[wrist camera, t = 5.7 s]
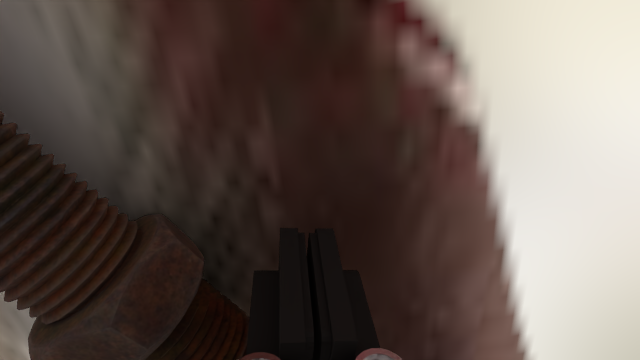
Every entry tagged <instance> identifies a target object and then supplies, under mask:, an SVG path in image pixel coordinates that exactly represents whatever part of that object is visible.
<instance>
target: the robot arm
mask: <svg viewBox="0 0 640 360" xmlns="http://www.w3.org/2000/svg"><path fill="white" fill-rule="evenodd" d="M239 360H402V359H401V358H400V357H399V356H398V355H396V354H395V353H393V352H391V351H389V350H385V349H381V348H380V346H379V343H378V339H377V335H376V332H375V328H374V325H373V321H372V317H371V314H370V310H369V307H368V303H367V299H366V296H365V292H364V289H363V285H362V282H361V278H360V275H359V272H358V271H357V270H342V266H341V261H340V256H339V252H338V247H337V243H336V238H335V234H334V230H333V229H316V230H315V233H309V238H308V248H307V256H306V245H305V235H304V233H298V229H297V228H280V247H279V270H278V271H254V277H253V288H252V298H251V309H250V319H249V329H248V340H247V350H246V355H245V356H244V357H242V358H241V359H239Z"/></svg>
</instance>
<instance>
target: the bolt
mask: <svg viewBox="0 0 640 360" xmlns="http://www.w3.org/2000/svg"><path fill="white" fill-rule="evenodd" d="M3 117H4V113H2V112H1V111H0V292H3V291H5V296H4V301H6V302H11V301H14V300H17V299H18V302H17V309H18V310H22V309H26V308H29V307H30V312H29V314H30V317H37V318H36V320H35V322H34V324H33V327H32V329H31V332H30V334H29V337H28V344H29V354H30V358H31V360H238V359H241V358H242V357H244V356H245V355H246V350H247V340H248V329H249V319H250V317H248V316H247V315H246V314H245V312H244V311H242V310H241V309H240V308H239V307H238V306H237V305H235V304H234V303H232V302H231V301H230V300H229V299H227V297H226V296H224V295H222V294H221V293H220V291H218V290H216V289H215V288H214V287H213V286H212V285H211V284H210V283H208V282H207V280H205V279H203V278H202V277H203V270H204V257H203V255H202V253H201V252H200V250H199V249H198V248H197V246H196V245H195V244H194V243H193V241H192V240H191V239H190V238H189V237H188V236H187V235H186V234H185V233H183V232H182V231H181V230H180V229H179V228H178V227H177V226H175V225H174V224H173V223H172V222H171V221H170V220H169V219H168V218H166V217H165V216H164V215H163V214H156V215H146V216H143V217H141V218H139V219H137V220H135V221H128V216H127V214H125V213H120V214H118V207H117V206H108V201H109V200H108V199H107V198H106V197H105V198H99V199H97V198H98V192H97V190H96V189H94V190H88V191H86V189H87V182H86V181H82V182H76V183H75V181H76V177H77V174H76V173H70V174H64V171H65V168H66V164H57V165H53V159H54V155H53V154H48V155H43V156H42V155H41V150H42V145H41V144H34V145H28V142H29V138H30V135H29V134H28V133H26V134H18V135H16V129H17V124H16V123H9V124H2V121H3Z"/></svg>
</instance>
